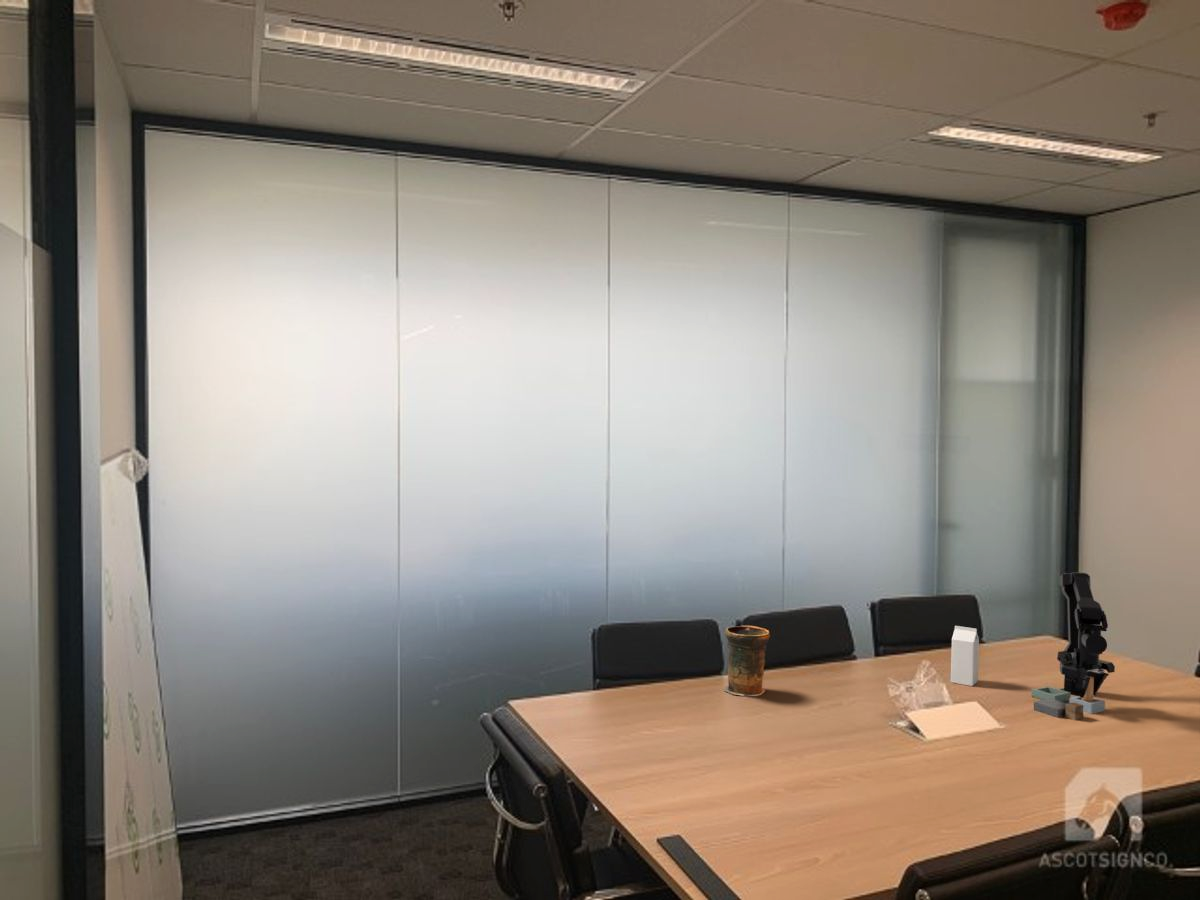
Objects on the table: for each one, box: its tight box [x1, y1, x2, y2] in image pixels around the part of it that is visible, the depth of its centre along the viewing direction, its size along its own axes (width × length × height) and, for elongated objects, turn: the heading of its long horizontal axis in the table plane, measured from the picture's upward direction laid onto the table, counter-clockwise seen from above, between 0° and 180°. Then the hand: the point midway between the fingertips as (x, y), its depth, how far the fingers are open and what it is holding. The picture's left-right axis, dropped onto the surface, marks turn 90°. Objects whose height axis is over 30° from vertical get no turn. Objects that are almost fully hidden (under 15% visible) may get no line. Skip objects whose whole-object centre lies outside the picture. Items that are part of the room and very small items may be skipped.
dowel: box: [1081, 676, 1094, 703], centre depth 270 cm, size 3×3×10 cm
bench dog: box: [1065, 702, 1084, 721], centre depth 261 cm, size 4×3×4 cm
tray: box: [1031, 685, 1072, 703], centre depth 280 cm, size 8×8×2 cm
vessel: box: [723, 625, 771, 697], centre depth 282 cm, size 14×14×20 cm
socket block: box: [1068, 695, 1106, 715], centre depth 270 cm, size 7×7×3 cm
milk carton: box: [950, 625, 980, 687], centre depth 297 cm, size 7×7×19 cm
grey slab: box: [1033, 699, 1068, 719], centre depth 266 cm, size 8×8×3 cm
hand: (1087, 696), depth 270 cm, fingers open, 6 cm apart
